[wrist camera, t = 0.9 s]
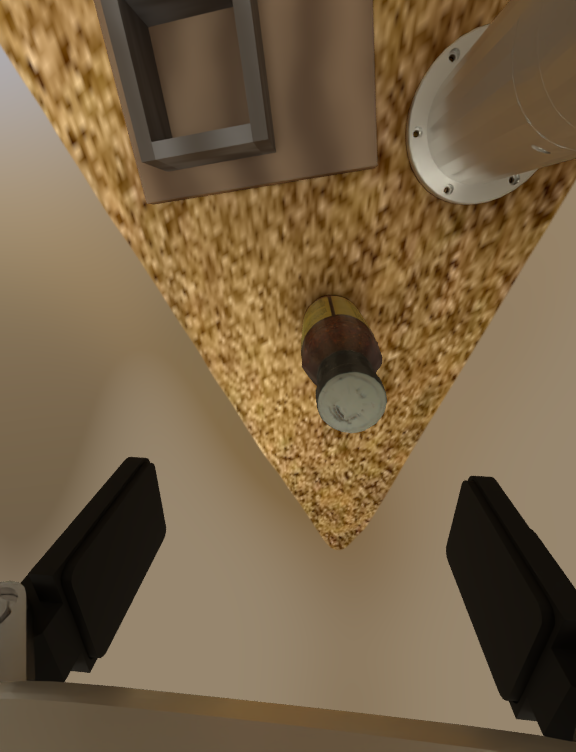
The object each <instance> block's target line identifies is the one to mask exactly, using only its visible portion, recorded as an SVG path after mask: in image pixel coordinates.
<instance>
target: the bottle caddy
mask: <svg viewBox="0 0 576 752" xmlns="http://www.w3.org/2000/svg"><path fill="white" fill-rule="evenodd" d="M94 3H95V7H96V11H97V15H98V19H99V22H100V26H101V30H102V34H103V38H104V42H105V45H106V49H107V53H108V57H109V61H110V65H111V68H112V72H113V76H114V80H115V84H116V88H117V91H118V95H119V99H120V103H121V107H122V111H123V114H124V118H125V122H126V126H127V130H128V134H129V137H130V141H131V145H132V149H133V153H134V157H135V160H136V164H137V168H138V172H139V176H140V180H141V183H142V187H143V191H144V195H145V199H146V203H148V204H159V203H165V202H171V201H177V200H183V199H189V198H195V197H201V196H208V195H214V194H220V193H226V192H232V191H238V190H244V189H250V188H256V187H262V186H268V185H275V184H281V183H287V182H293V181H299V180H305V179H311V178H317V177H323V176H329V175H335V174H342V173H348V172H354V171H360V170H366V169H372V168H375V167H376V166H377V135H376V99H375V63H374V27H373V0H94Z"/></svg>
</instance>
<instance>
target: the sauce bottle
mask: <svg viewBox="0 0 576 752" xmlns="http://www.w3.org/2000/svg"><path fill="white" fill-rule="evenodd" d="M301 356H302V368H303V369H304V371H305V372H306V373H307V375H308V376H309V378H310V379H311V380H312V381H313V383H314V384H315V385H317V388H316V403H317V408H318V411H319V414H320V416H321V418H322V419H323V421H324V422H326V423H327V424H328V425H329V426H331V427H332V428H334V429H336V430H339V431H342V432H349V433H356V432H361V431H364V430H366V429H368V428H370V427H371V426H373V425H374V424H376V423H377V422H378V420H379V419H380V418H381V417H382V415H383V413H384V411H385V408H386V403H387V397H386V392H385V389H384V387H383V384H382V382H381V380H380V378H379V377H378V376H377V375H376V372H377V370H378V369H379V368H380V366H381V364H382V355H381V352H380V350H379V346H378V342H377V341H376V340H375V338H374V335H373V333H372V331H371V330H370V328H369V327H368V325H367V323H366V322H365V320H364V318H363V317H362V315H361V314H360V312H359V311H358V309H357V308H356V306H355V305H354V304H353V303H352V302H350V301H349V300H348V299H345V298H343V297H339V296H331V295H326V296H324V297H321V298H319V299H317V300H316V301H315V302H314V303H313V304H311V306H309V307H308V309H307V311H306V314H305V316H304V319H303V326H302V342H301Z"/></svg>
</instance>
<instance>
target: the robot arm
mask: <svg viewBox="0 0 576 752" xmlns="http://www.w3.org/2000/svg"><path fill="white" fill-rule="evenodd" d="M450 56H451V57H453V59H454V60H453V62H451V61H450V60H449V57H450ZM413 132H417V133H418V137H416V138H415V137H414V136H413ZM406 145H407V153H408V158H409V161H410V164H411V167H412V170H413V171H414V173H415V175H416V177H417V179H418V180H419V182H420V183H421V184H422V185H423V186H424V187H425V188H426V190H427V191H429V192H430V193H432V194H433V195H434V196H436V197H437V198H439V199H442V200H444V201H447V202H449V203H454V204H460V205H469V204H479V203H485V202H489V201H491V200H494V199H497V198H500V197H502V196H504V195H506V194H508V193H510V192H511V191H513V190H515V189H516V188H518V187H519V186H520V185H521V184H523V183H524V182H525V181H527V180H528V179H529V178H530V177H531V176H532V175H533V174H534V173H535V172H536V171H537V170H538V169H539V168H542V167H546V166H549V165H553V164H557V163H560V162H564V161H568V160H571V159H575V158H576V0H510V1H509V2H508V3H507V4H506V6H505V7H504V8H503V9H502V11H501V12H500V13H499V14H498V15H497V17H496V18H495V19H494V20H493V21H492V23H490V24H487V25H484V26H481V27H478V28H475V29H473V30H472V31H470V32H468V33H466V34H464V35H463V36H461V37H459V38H458V39H457V40H456V41H454V42H453V43H452V44H451V45H450V46H448V47H447V48H446V49H445V50H444V51H443V52H442V53H441V54H440V56H439V57H438V58H437V59H436V60H435V61H434V62H433V64H432V65H431V67H430V68H429V69H428V71H427V72H426V74H425V75H424V77H423V79H422V81H421V83H420V85H419V86H418V88H417V90H416V92H415V95H414V98H413V100H412V103H411V106H410V110H409V115H408V119H407V125H406ZM509 178H512V182H511V183H509ZM445 187H447V188H448V192H447V193H444V188H445ZM165 533H166V524H165V520H164V514H163V508H162V502H161V497H160V492H159V486H158V481H157V475H156V470H155V466H154V464H153V463H150V461H149V459H147V458H138V457H128V458H127V459H126V460H125V461H124V462H123V463H122V464H121V465H120V467H119V468H118V469H117V470H116V471H115V472H114V474H113V475H112V476H111V477H110V478H109V479H108V481H107V482H106V483H105V484H104V485H103V487H102V488H101V489H100V490H99V491H98V492H97V494H96V495H95V496H94V497H93V498H92V500H91V501H90V502H89V503H88V504H87V505H86V506H85V508H84V509H83V510H82V511H81V512H80V514H79V515H78V516H77V517H76V518H75V519H74V521H73V522H72V523H71V524H70V525H69V526H68V528H67V529H66V530H65V531H64V533H63V534H62V535H61V536H60V537H59V538H58V539H57V540H56V542H55V543H54V544H53V545H52V546H51V548H50V549H49V550H48V551H47V552H46V553H45V555H44V556H43V557H42V558H41V559H40V560H39V562H38V563H37V564H36V565H35V566H34V567H33V569H32V570H31V571H30V572H29V573H28V575H27V576H26V577H25V579H24V580H23V581H22V582H21V583H19V582H14V581H6V582H0V752H576V589H575V588H574V586H573V585H572V583H571V582H570V581H569V579H568V578H567V576H566V575H565V574H564V572H563V571H562V569H561V568H560V567H559V565H558V564H557V562H556V561H555V560H554V558H553V557H552V555H551V554H550V553H549V551H548V550H547V548H546V547H545V546H544V544H543V543H542V541H541V540H540V539H539V538H538V536H537V534H536V533H535V532H534V531H533V530H532V529H530V528H529V527H528V525H527V524H526V522H525V521H524V519H523V518H522V517H521V515H520V514H519V512H518V511H517V509H516V508H515V507H514V505H513V504H512V502H511V501H510V499H509V498H508V497H507V495H506V494H505V492H504V491H503V490H502V488H501V487H500V485H499V484H498V482H497V481H496V480H495V479H494V478H493V477H484V476H470V477H469V479H468V481H463V483H462V486H461V490H460V494H459V498H458V502H457V506H456V510H455V514H454V518H453V522H452V526H451V530H450V534H449V538H448V542H447V546H446V555H447V559H448V562H449V565H450V567H451V570H452V572H453V575H454V578H455V580H456V583H457V585H458V588H459V590H460V593H461V596H462V598H463V601H464V603H465V606H466V609H467V611H468V614H469V616H470V619H471V622H472V624H473V627H474V629H475V632H476V634H477V637H478V640H479V642H480V645H481V647H482V650H483V653H484V655H485V658H486V660H487V662H488V665H489V668H490V671H491V673H492V676H493V678H494V681H495V684H496V686H497V689H498V691H499V693H500V695H501V697H502V698H503V699H504V700H506V701H509V702H510V705H511V707H512V710H513V712H514V715H515V717H516V719H521V720H531V721H537V722H538V724H539V727H540V729H541V731H542V733H543V735H544V736H539V735H532V734H525V733H518V732H510V731H503V730H495V729H489V728H481V727H474V726H466V725H459V724H450V723H442V722H433V721H424V720H415V719H407V718H399V717H390V716H382V715H373V714H364V713H355V712H347V711H338V710H329V709H320V708H311V707H301V706H293V705H284V704H275V703H266V702H257V701H248V700H238V699H229V698H220V697H211V696H200V695H191V694H182V693H173V692H163V691H154V690H144V689H133V688H125V687H114V686H103V685H90V684H78V683H66V682H65V680H66V678H67V677H68V675H69V673H70V671H78V672H87V673H90V672H91V670H92V668H93V666H94V664H95V662H96V660H97V658H101V657H103V656H104V655H105V653H106V652H107V650H108V648H109V646H110V644H111V642H112V640H113V638H114V636H115V634H116V632H117V630H118V628H119V626H120V624H121V622H122V620H123V618H124V616H125V615H126V613H127V610H128V608H129V607H130V605H131V603H132V601H133V599H134V596H135V595H136V593H137V591H138V589H139V587H140V585H141V583H142V581H143V579H144V577H145V575H146V573H147V571H148V569H149V567H150V565H151V563H152V561H153V559H154V557H155V555H156V553H157V551H158V549H159V548H160V546H161V544H162V542H163V539H164V537H165Z"/></svg>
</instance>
